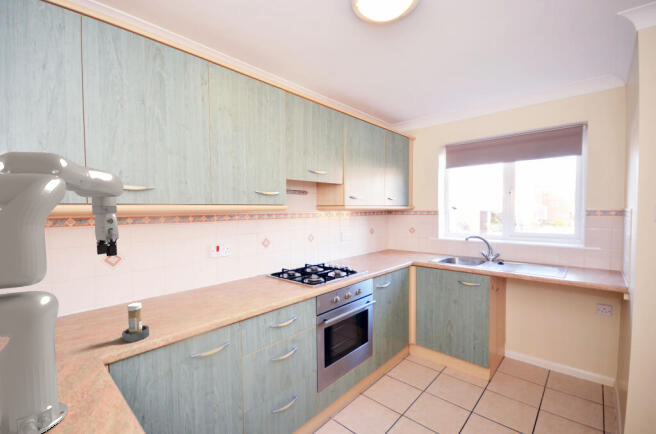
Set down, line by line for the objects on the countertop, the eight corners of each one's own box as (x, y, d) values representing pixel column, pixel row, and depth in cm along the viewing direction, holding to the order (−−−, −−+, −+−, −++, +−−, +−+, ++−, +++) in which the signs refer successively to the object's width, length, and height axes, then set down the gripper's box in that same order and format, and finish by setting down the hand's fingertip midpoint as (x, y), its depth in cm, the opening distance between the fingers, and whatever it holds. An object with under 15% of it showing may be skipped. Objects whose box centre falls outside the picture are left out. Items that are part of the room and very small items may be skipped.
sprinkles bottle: (145, 336, 113) (143, 302, 113) (133, 341, 109) (131, 306, 108) (138, 334, 115) (136, 301, 115) (126, 339, 111) (124, 305, 110)
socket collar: (153, 335, 113) (152, 328, 113) (128, 344, 106) (127, 336, 106) (143, 330, 118) (142, 323, 118) (119, 339, 111) (118, 331, 111)
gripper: (125, 210, 108) (127, 255, 108) (107, 211, 117) (110, 252, 118) (101, 211, 102) (103, 258, 102) (84, 211, 111) (87, 254, 112)
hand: (107, 254), depth 110 cm, fingers open, 9 cm apart
